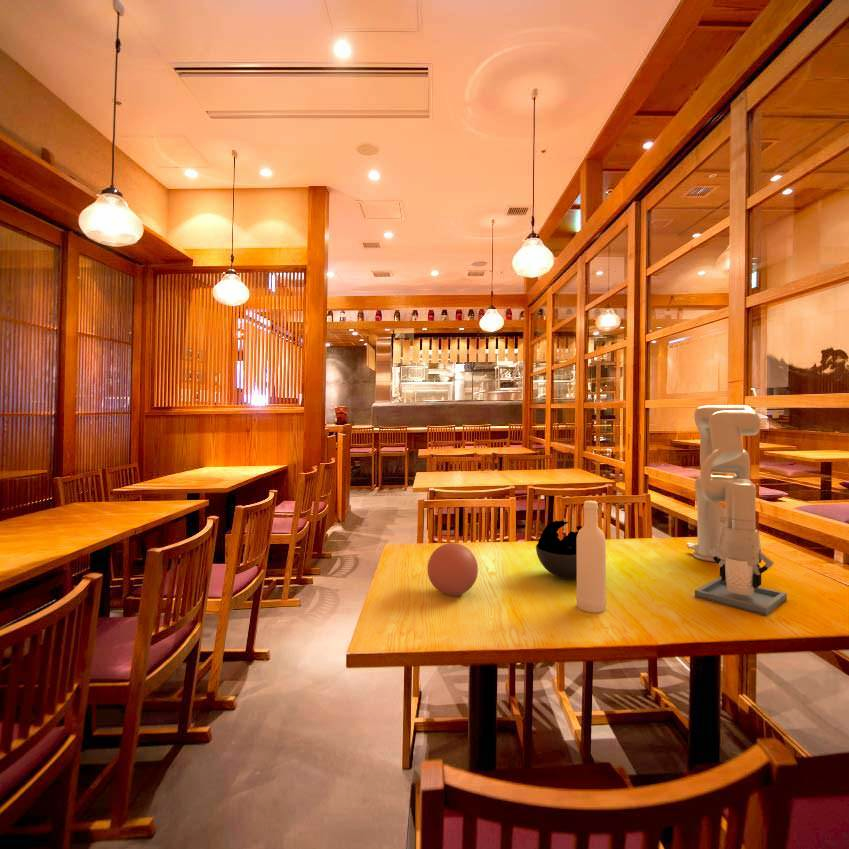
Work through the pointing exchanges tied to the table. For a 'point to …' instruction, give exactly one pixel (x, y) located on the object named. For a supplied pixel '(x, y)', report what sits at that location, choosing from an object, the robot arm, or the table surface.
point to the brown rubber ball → (452, 569)
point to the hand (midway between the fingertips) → (740, 583)
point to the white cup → (739, 577)
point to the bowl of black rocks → (558, 551)
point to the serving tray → (742, 597)
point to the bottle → (591, 562)
